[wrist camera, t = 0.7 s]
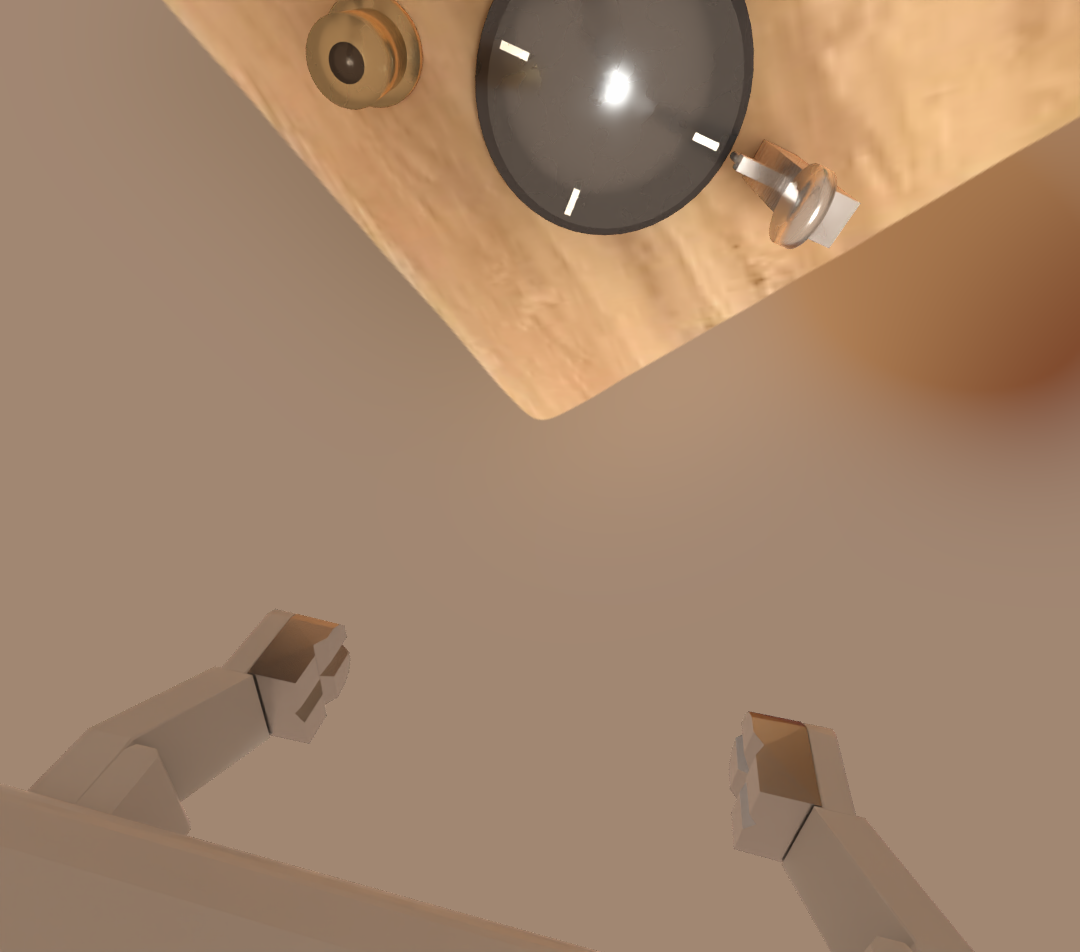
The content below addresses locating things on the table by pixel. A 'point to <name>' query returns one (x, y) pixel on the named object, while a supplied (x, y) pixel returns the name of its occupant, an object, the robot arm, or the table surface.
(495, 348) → the table surface
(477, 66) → the turntable base
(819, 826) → the robot arm
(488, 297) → the table surface
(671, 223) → the table surface
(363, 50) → the brass hub
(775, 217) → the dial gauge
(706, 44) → the turntable platter
